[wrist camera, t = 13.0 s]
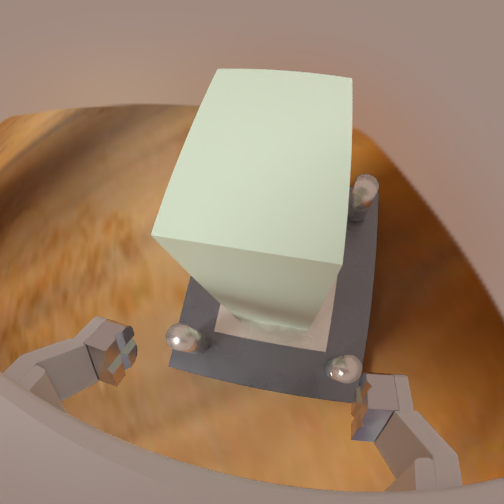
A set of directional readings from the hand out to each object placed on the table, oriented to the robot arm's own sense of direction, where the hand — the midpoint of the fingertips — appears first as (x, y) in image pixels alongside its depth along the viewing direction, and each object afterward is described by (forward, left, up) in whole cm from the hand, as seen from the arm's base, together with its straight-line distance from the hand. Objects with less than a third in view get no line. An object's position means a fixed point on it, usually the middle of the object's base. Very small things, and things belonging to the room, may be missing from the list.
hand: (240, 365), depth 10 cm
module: (0, +6, -10) cm, 12 cm away
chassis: (0, +6, -12) cm, 13 cm away
